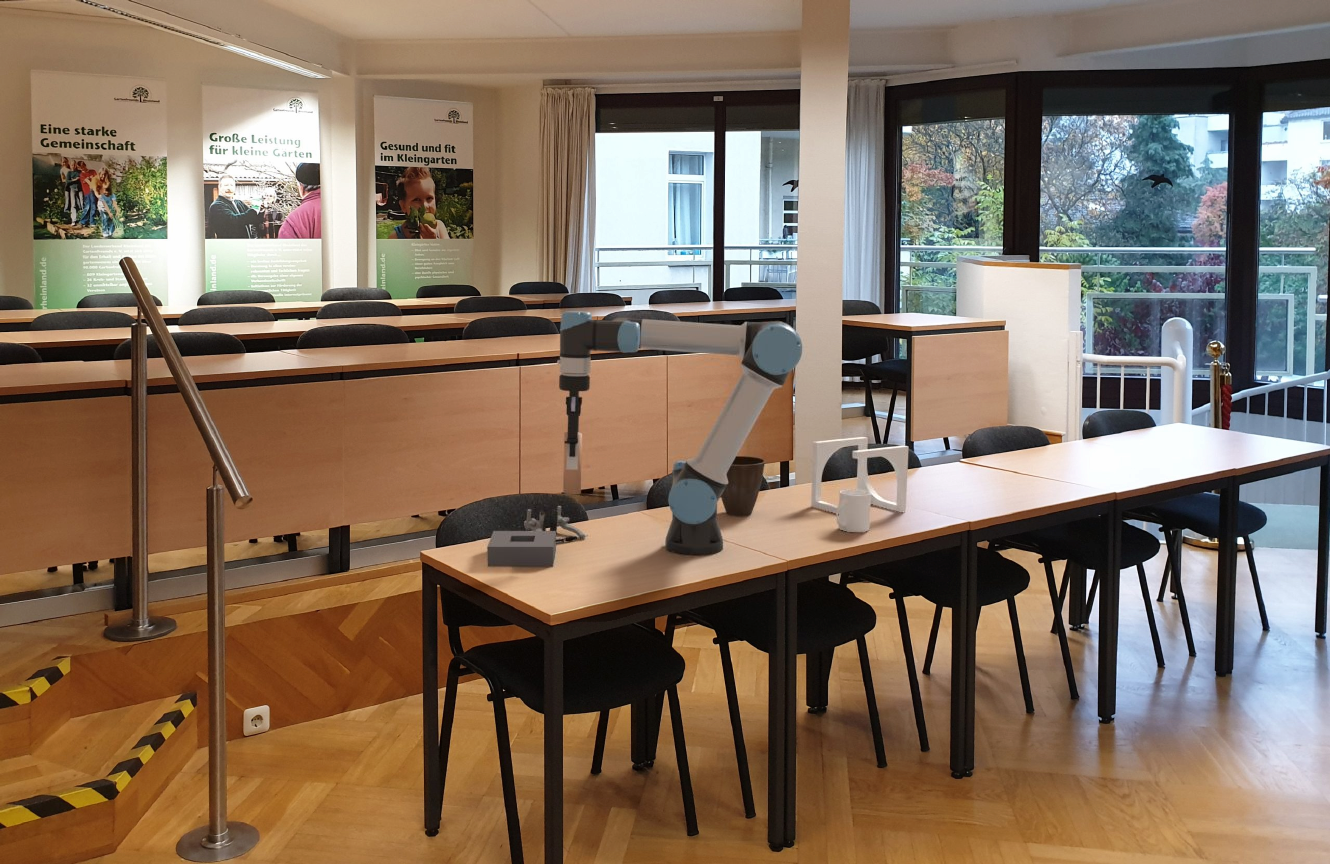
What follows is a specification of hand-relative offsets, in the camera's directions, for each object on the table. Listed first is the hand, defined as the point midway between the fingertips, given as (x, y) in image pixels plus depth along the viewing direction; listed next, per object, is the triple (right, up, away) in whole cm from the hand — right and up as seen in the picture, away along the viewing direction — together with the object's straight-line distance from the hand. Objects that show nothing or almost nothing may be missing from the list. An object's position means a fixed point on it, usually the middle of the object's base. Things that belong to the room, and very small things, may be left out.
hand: (572, 467), depth 295 cm
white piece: (+81, -15, +63) cm, 104 cm away
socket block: (-13, -23, +3) cm, 26 cm away
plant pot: (+45, -16, +55) cm, 73 cm away
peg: (0, -6, +1) cm, 6 cm away
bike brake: (-6, -20, +23) cm, 31 cm away
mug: (+75, -19, +36) cm, 85 cm away
